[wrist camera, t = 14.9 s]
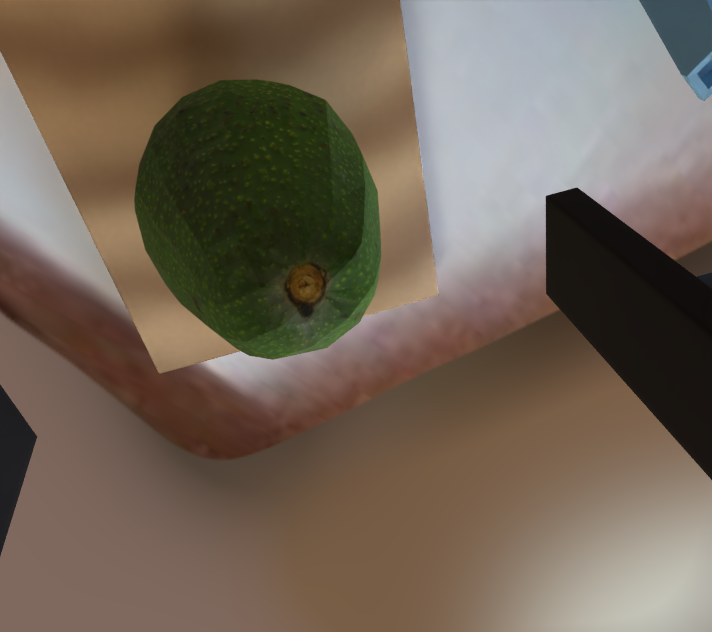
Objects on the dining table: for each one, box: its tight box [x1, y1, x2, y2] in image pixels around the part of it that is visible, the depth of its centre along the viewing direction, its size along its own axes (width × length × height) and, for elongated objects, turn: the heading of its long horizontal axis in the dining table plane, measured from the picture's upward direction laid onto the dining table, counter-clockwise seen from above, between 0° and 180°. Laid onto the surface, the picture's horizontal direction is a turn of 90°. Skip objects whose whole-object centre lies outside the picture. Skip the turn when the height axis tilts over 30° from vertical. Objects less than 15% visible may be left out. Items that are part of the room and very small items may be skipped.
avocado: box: [134, 79, 381, 359], centre depth 20 cm, size 8×8×12 cm
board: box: [0, 0, 439, 374], centre depth 25 cm, size 18×14×2 cm
